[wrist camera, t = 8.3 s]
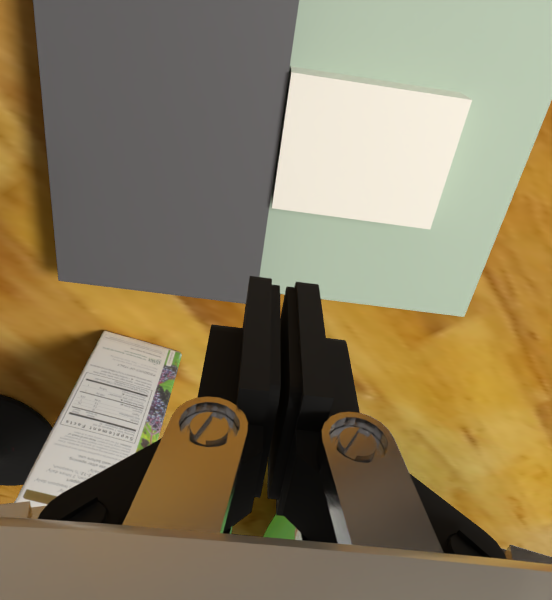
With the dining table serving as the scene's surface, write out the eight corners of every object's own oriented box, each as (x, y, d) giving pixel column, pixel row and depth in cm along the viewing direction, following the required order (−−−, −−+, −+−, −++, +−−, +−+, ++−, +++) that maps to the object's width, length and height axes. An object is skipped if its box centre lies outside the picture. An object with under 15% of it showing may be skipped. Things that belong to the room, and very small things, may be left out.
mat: (310, -88, 24) (310, -89, 23) (602, -36, 25) (606, -36, 24) (256, 288, 34) (256, 290, 34) (462, 314, 35) (464, 316, 35)
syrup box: (163, 406, 40) (111, 600, 27) (85, 385, 39) (-5, 577, 26) (183, 350, 37) (135, 539, 24) (100, 326, 36) (5, 510, 23)
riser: (39, -136, 23) (19, -145, 21) (310, -88, 24) (312, -93, 22) (69, 265, 33) (58, 280, 32) (256, 288, 34) (255, 304, 32)
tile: (290, 66, 27) (291, 72, 25) (460, 92, 27) (472, 99, 26) (272, 195, 30) (271, 208, 29) (421, 215, 31) (430, 229, 29)
